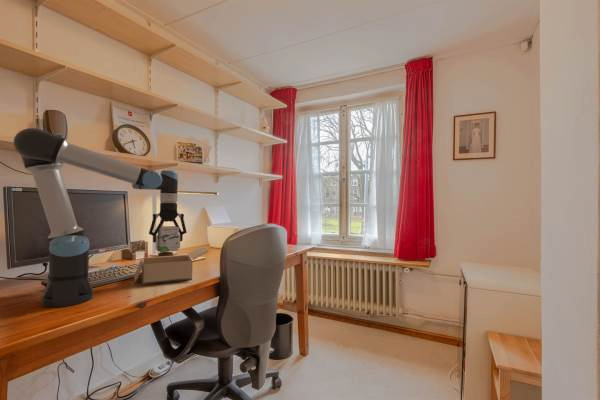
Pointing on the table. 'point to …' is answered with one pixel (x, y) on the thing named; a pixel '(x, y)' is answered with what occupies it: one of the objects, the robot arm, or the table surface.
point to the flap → (198, 252)
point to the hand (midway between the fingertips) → (167, 248)
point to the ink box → (168, 238)
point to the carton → (164, 269)
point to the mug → (165, 254)
